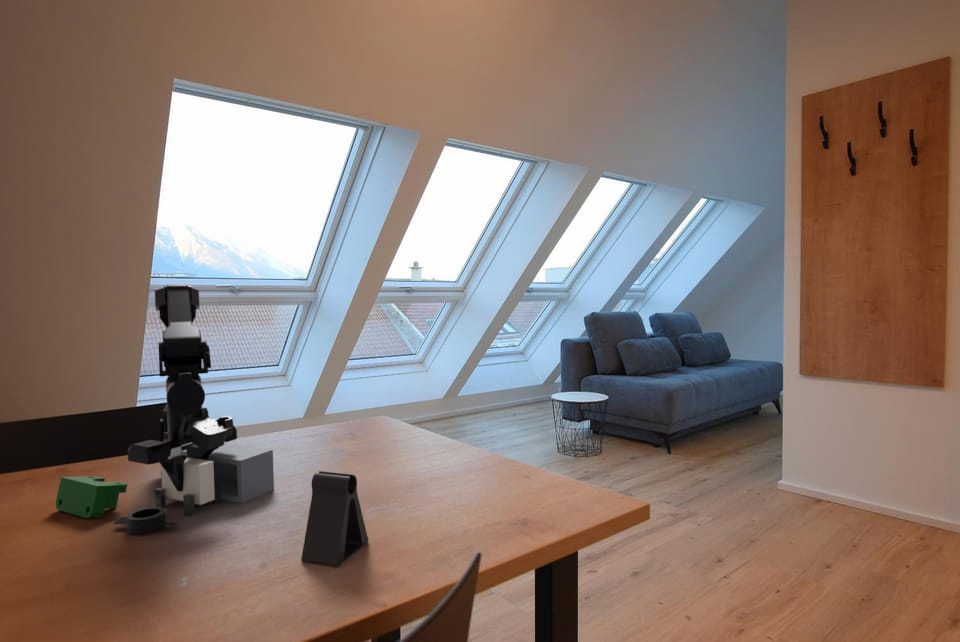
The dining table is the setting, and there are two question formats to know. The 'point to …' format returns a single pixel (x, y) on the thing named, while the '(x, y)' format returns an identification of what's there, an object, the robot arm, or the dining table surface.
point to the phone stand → (333, 520)
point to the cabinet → (242, 471)
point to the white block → (192, 481)
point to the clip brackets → (185, 500)
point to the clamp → (88, 495)
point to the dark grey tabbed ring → (145, 521)
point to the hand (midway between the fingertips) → (187, 488)
